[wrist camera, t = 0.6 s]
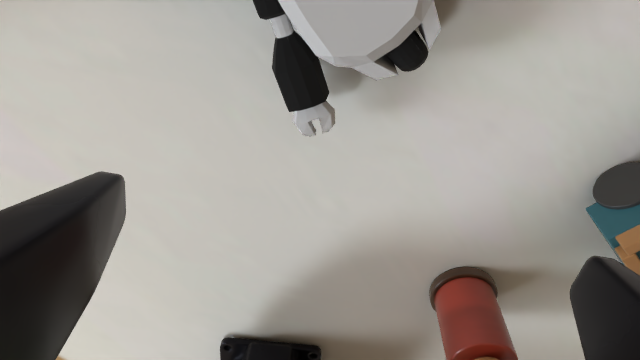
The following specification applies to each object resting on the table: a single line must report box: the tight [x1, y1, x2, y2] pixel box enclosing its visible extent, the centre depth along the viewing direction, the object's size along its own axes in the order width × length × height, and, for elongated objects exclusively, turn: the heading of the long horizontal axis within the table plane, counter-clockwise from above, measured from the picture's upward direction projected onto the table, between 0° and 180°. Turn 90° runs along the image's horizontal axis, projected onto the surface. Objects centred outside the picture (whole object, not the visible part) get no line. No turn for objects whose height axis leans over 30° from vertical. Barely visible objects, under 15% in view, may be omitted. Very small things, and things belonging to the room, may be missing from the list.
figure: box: [429, 267, 518, 360], centre depth 25 cm, size 4×4×8 cm
